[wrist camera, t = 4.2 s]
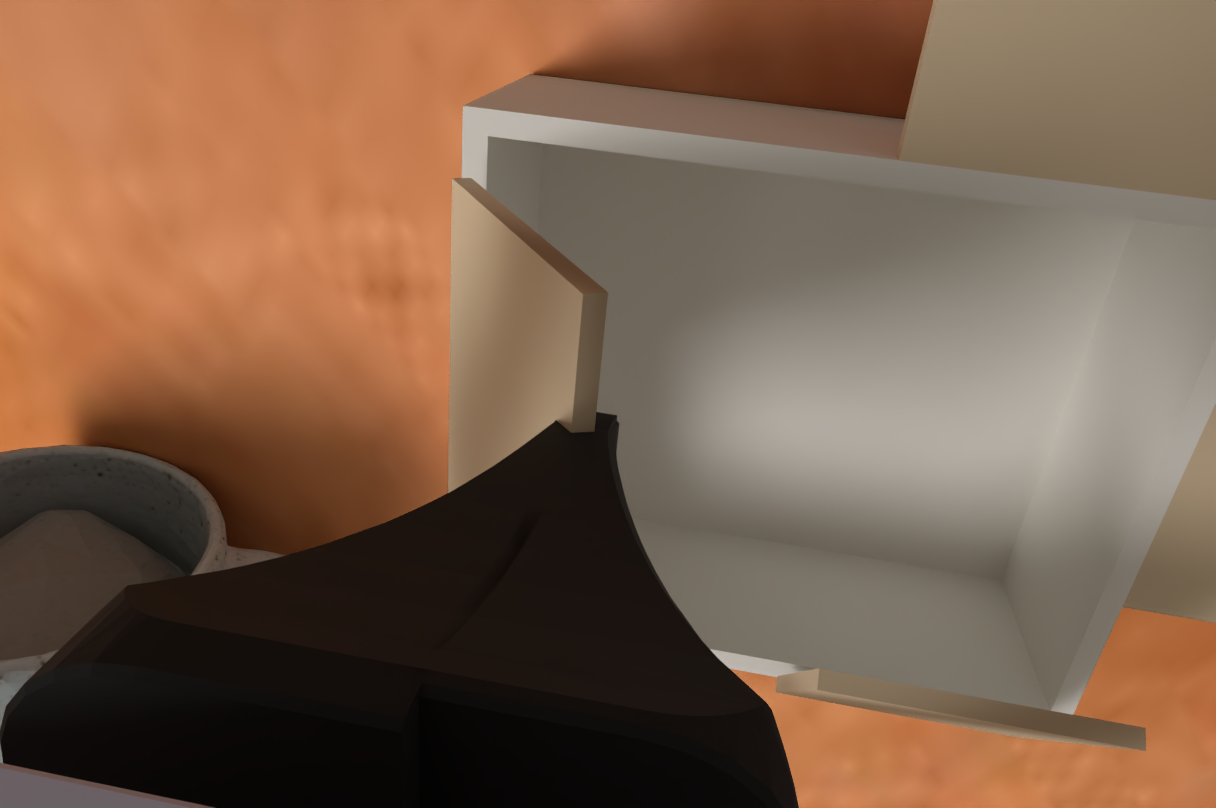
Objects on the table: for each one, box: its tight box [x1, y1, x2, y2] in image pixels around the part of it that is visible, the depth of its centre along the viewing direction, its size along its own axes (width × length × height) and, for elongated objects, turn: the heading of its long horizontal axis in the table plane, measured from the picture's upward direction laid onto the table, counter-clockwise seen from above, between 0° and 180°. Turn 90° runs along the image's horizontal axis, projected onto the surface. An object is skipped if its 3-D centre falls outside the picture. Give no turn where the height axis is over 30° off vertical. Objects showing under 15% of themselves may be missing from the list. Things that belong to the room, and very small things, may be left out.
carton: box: [462, 0, 1216, 715], centre depth 16 cm, size 16×15×4 cm
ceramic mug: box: [0, 445, 286, 763], centre depth 21 cm, size 11×8×8 cm
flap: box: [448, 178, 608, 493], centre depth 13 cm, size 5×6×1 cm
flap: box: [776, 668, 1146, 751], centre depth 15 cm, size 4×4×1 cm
